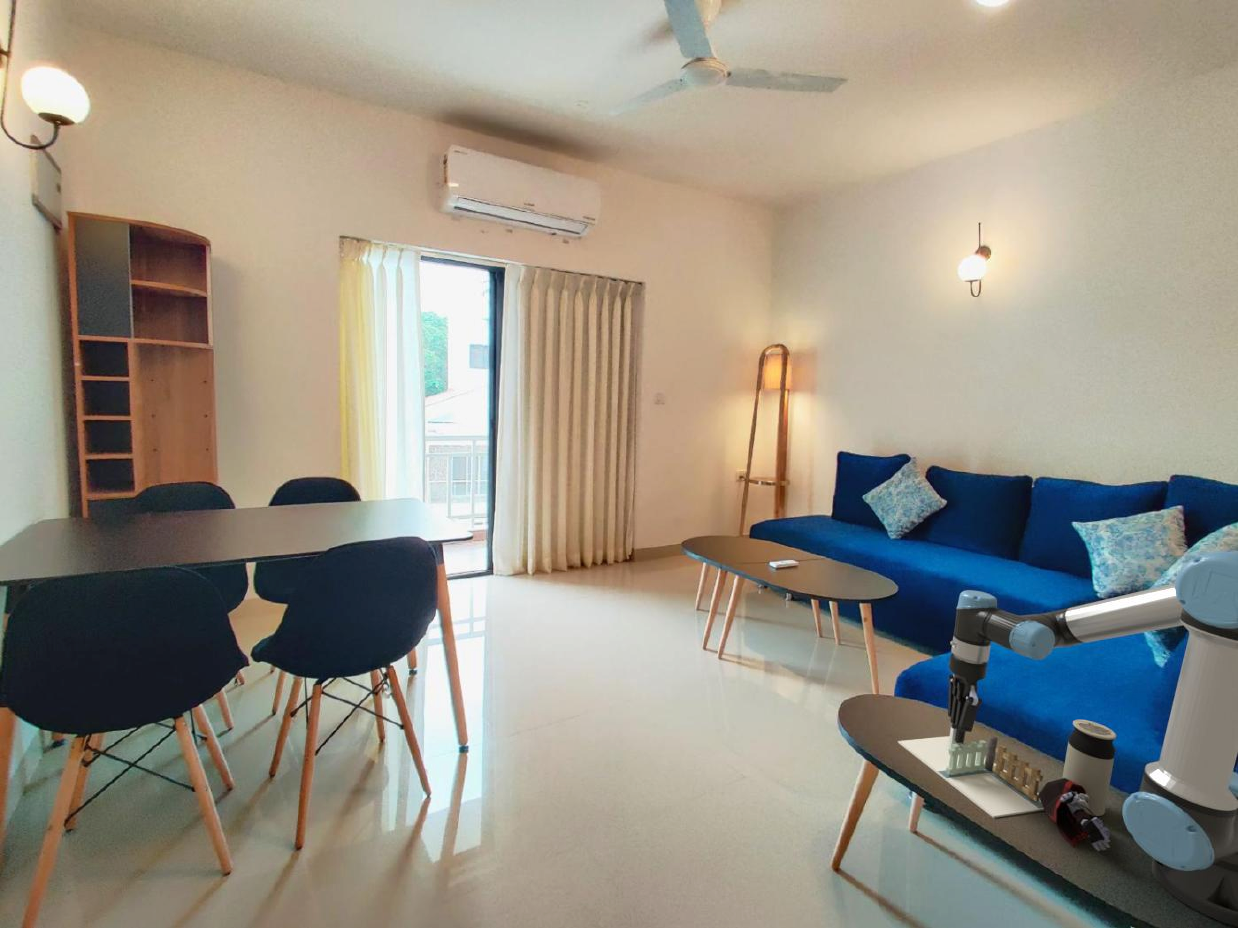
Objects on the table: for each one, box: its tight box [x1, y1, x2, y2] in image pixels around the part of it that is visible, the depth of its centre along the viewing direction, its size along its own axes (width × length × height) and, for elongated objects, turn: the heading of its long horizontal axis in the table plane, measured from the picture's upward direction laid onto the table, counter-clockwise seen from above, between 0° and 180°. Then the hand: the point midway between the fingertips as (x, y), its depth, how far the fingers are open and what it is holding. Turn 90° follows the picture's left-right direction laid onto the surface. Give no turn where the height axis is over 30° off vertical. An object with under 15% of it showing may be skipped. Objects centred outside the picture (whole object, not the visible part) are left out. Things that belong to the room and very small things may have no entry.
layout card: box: [897, 735, 1045, 819], centre depth 141 cm, size 28×18×1 cm, turn 16°
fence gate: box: [946, 739, 988, 775], centre depth 140 cm, size 11×1×7 cm, turn 108°
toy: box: [1038, 777, 1111, 852], centre depth 123 cm, size 12×9×15 cm
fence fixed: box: [985, 734, 1044, 801], centre depth 137 cm, size 13×2×8 cm, turn 16°
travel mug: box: [1062, 719, 1117, 817], centre depth 132 cm, size 8×8×18 cm
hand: (954, 752), depth 141 cm, fingers closed
